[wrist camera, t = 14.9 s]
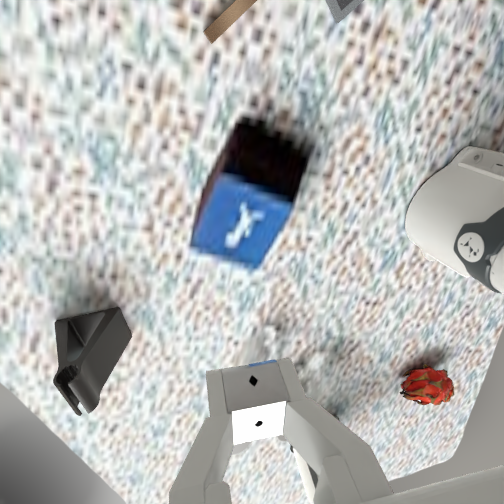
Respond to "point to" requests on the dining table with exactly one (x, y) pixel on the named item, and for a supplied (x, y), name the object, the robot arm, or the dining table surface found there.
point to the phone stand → (88, 355)
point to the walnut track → (227, 19)
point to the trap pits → (342, 8)
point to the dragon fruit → (427, 386)
